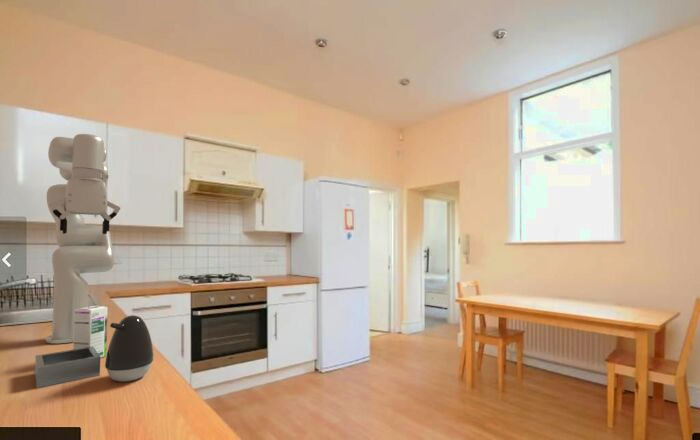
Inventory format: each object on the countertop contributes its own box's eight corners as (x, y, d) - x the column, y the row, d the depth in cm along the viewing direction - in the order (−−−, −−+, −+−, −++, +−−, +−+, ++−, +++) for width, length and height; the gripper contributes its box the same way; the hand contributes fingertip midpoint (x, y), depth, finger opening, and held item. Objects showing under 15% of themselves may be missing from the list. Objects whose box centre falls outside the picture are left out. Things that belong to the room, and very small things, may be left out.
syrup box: (89, 362, 100) (91, 309, 101) (71, 361, 101) (73, 308, 102) (106, 356, 106) (108, 305, 106) (89, 354, 107) (92, 305, 108)
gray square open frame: (34, 373, 92) (35, 355, 92) (92, 362, 100) (92, 346, 100) (36, 388, 83) (37, 368, 83) (99, 375, 91) (100, 356, 91)
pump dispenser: (93, 382, 86) (96, 318, 87) (132, 368, 96) (135, 310, 97) (124, 389, 83) (127, 321, 83) (162, 373, 92) (164, 313, 93)
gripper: (118, 181, 117) (116, 234, 116) (49, 174, 105) (46, 233, 104) (123, 178, 111) (121, 233, 110) (51, 170, 100) (47, 232, 99)
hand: (85, 233), depth 107 cm, fingers open, 9 cm apart
